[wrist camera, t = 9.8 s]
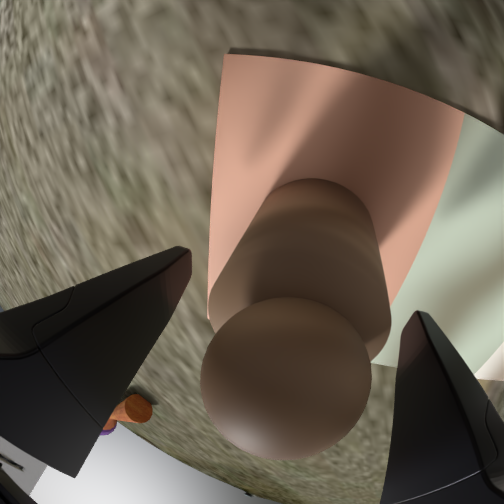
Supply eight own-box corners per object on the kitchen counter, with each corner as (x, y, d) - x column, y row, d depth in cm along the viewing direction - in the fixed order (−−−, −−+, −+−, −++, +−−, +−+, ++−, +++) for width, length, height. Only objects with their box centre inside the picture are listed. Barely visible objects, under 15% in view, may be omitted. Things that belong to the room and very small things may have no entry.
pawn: (390, 197, 8) (458, 424, 2) (352, 296, 11) (337, 487, 5) (262, 165, 9) (116, 346, 3) (248, 270, 12) (165, 445, 5)
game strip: (621, 244, 3) (623, 246, 3) (533, 380, 10) (533, 382, 10) (226, 54, 8) (224, 54, 7) (208, 315, 14) (207, 318, 14)
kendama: (156, 442, 23) (105, 441, 33) (168, 397, 28) (114, 412, 38) (105, 419, 21) (73, 424, 31) (123, 372, 26) (84, 395, 35)
